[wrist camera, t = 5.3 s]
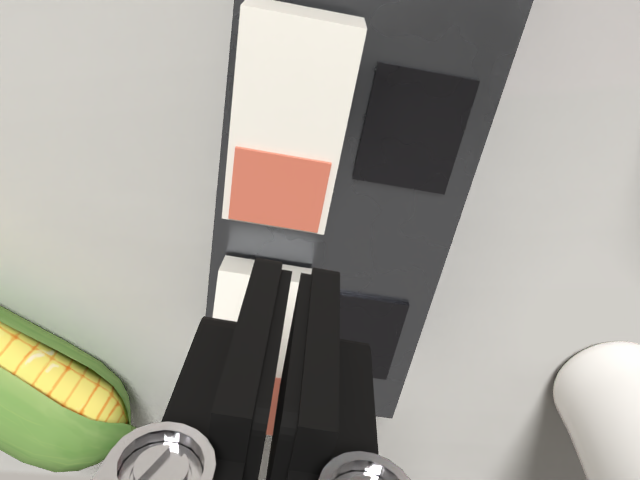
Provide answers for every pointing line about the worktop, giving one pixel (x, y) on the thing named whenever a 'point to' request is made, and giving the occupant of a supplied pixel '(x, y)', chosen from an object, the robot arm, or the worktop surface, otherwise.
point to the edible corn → (56, 400)
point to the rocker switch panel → (393, 168)
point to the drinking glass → (603, 409)
